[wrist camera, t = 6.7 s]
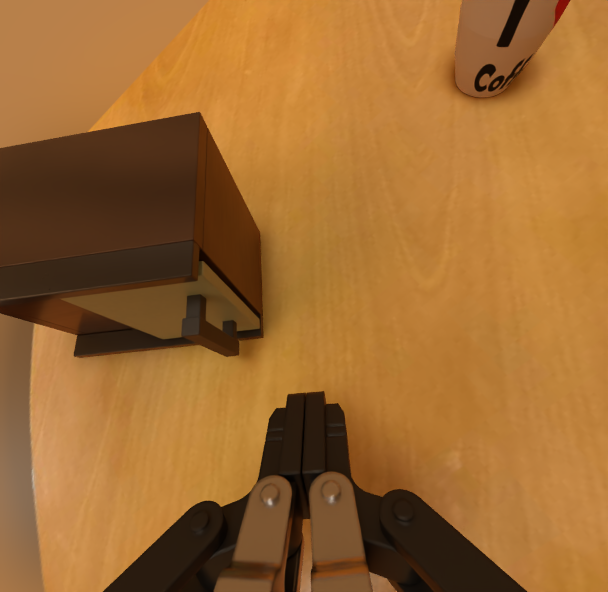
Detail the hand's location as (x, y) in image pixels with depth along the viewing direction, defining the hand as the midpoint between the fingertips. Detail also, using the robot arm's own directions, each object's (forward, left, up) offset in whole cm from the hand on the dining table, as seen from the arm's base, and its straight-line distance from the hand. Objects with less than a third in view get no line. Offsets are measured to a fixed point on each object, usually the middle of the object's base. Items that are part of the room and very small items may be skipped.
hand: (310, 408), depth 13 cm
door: (-9, +6, -10) cm, 14 cm away
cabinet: (-13, +12, -11) cm, 20 cm away
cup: (+18, +30, -11) cm, 37 cm away
